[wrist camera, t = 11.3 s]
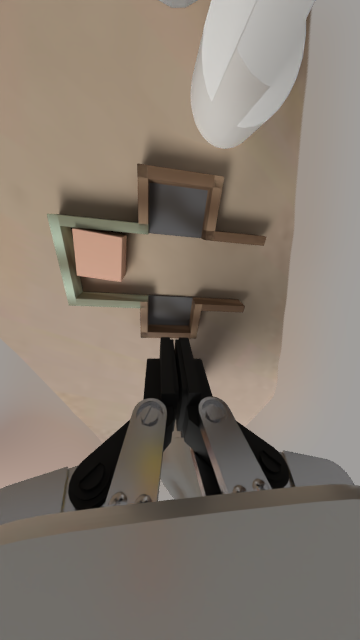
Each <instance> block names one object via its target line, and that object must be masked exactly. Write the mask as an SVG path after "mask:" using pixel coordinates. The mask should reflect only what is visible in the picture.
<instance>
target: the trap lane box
mask: <svg viewBox="0 0 360 640" xmlns="http://www.w3.org/2000/svg"><path fill="white" fill-rule="evenodd" d="M137 171H138V221H139V223H137V222H128V221H118V220H109V219H99V218H90V217H80V216H71V215H61V214H47V217H48V221H49V225H50V229H51V233H52V237H53V242H54V246H55V250H56V254H57V258H58V262H59V266H60V270H61V274H62V279H63V283H64V287H65V291H66V295H67V299H68V303H69V305H72V306H97V307H122V308H140V323H141V338H161V337H170V338H179V337H188V338H194V339H196V337H197V331H198V325H199V320H200V314H201V311H222V312H243V311H244V308H245V306H244V305H243V304H242V303H241V302H240V301H239V300H237V299H218V298H198V297H178V296H158V295H138V294H118V293H98V292H83V290H82V284H81V279H80V276H77V271H76V262H75V252H74V242H73V237H72V232H71V227H76V228H87V229H97V230H107V231H118V232H128V233H138V234H148V233H154V234H164V235H174V236H185V237H195V238H202V239H204V240H210V241H221V242H231V243H241V244H251V245H262V246H264V243H265V240H266V237H265V236H259V235H251V234H241V233H232V232H222V231H215V228H216V222H217V216H218V211H219V205H220V199H221V193H222V188H223V182H224V177H223V176H217V175H210V174H204V173H197V172H190V171H184V170H177V169H170V168H164V167H157V166H150V165H144V164H137Z"/></svg>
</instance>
